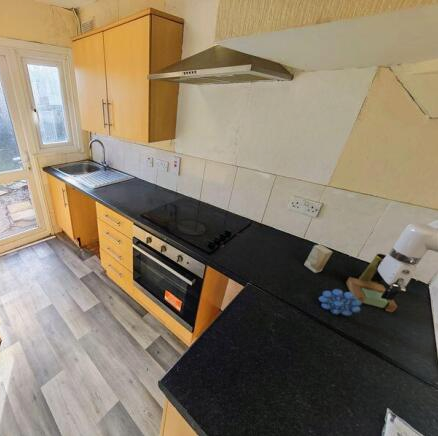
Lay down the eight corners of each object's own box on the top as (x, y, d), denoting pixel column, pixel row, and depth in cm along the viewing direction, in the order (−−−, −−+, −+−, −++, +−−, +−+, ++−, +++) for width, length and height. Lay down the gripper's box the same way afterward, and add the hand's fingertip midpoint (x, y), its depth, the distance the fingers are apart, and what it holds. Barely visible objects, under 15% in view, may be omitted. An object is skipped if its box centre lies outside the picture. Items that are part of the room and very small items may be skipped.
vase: (374, 280, 104) (392, 256, 97) (377, 288, 99) (396, 263, 92) (357, 275, 107) (373, 251, 100) (360, 283, 102) (376, 258, 95)
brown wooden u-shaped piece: (378, 290, 98) (383, 285, 97) (392, 312, 89) (397, 306, 87) (345, 282, 102) (349, 276, 100) (355, 302, 92) (359, 296, 91)
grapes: (352, 315, 87) (368, 293, 81) (350, 326, 83) (367, 304, 77) (317, 298, 94) (329, 276, 88) (313, 307, 90) (326, 286, 84)
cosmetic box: (303, 265, 112) (313, 245, 106) (309, 263, 113) (319, 243, 107) (315, 273, 107) (326, 253, 101) (322, 271, 108) (333, 251, 102)
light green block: (377, 299, 94) (382, 293, 93) (383, 308, 90) (388, 302, 88) (357, 293, 96) (361, 287, 95) (362, 302, 92) (366, 296, 91)
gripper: (433, 274, 73) (404, 309, 82) (404, 245, 87) (381, 277, 96) (404, 268, 76) (378, 303, 84) (380, 240, 90) (360, 273, 98)
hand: (380, 289), depth 90 cm, fingers open, 9 cm apart
